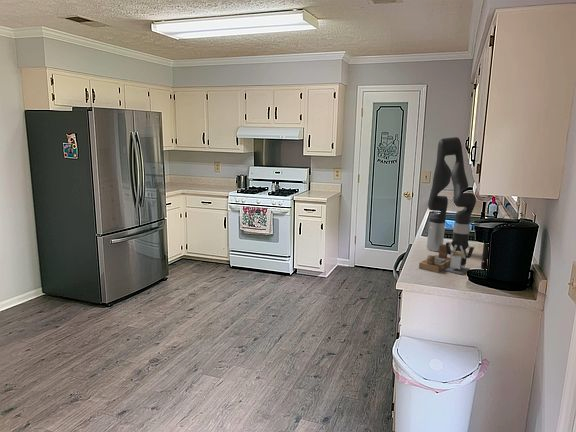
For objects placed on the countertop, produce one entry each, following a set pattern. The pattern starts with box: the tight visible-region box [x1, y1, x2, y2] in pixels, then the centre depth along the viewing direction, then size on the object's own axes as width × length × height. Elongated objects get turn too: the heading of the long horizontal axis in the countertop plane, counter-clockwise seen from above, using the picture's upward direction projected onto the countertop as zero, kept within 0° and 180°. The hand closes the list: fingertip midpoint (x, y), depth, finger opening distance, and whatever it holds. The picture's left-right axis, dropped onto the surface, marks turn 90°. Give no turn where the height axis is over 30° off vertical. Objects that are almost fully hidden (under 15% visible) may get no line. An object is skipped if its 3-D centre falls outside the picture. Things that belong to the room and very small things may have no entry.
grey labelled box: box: [449, 251, 466, 269], centre depth 221 cm, size 8×5×7 cm, turn 140°
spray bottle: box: [480, 242, 489, 271], centre depth 221 cm, size 10×10×25 cm
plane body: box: [418, 243, 451, 273], centre depth 228 cm, size 22×10×10 cm, turn 140°
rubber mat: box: [443, 266, 471, 276], centre depth 222 cm, size 12×9×1 cm
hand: (457, 263), depth 221 cm, fingers closed on grey labelled box, 5 cm apart
